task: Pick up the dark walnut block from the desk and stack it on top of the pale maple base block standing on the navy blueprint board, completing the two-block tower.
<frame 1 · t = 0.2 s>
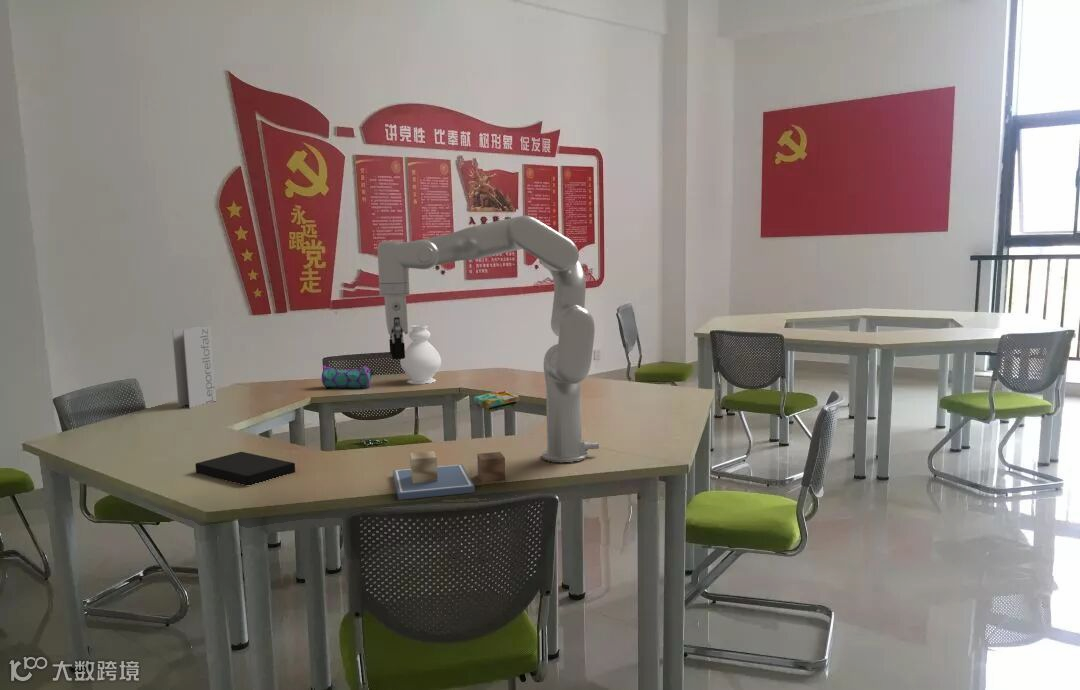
hand: (397, 356, 199), 31 cm above the table, fingers open, 9 cm apart
walnut block: (491, 478, 196), on the table
external hard drive: (245, 474, 206), on the table
blueprint board: (432, 483, 192), on the table
pencil case: (347, 388, 332), on the table
brochure: (197, 404, 302), on the table
decorative vase: (421, 382, 343), on the table
maple base block: (424, 478, 192), resting on blueprint board
puzzle game: (498, 407, 282), on the table
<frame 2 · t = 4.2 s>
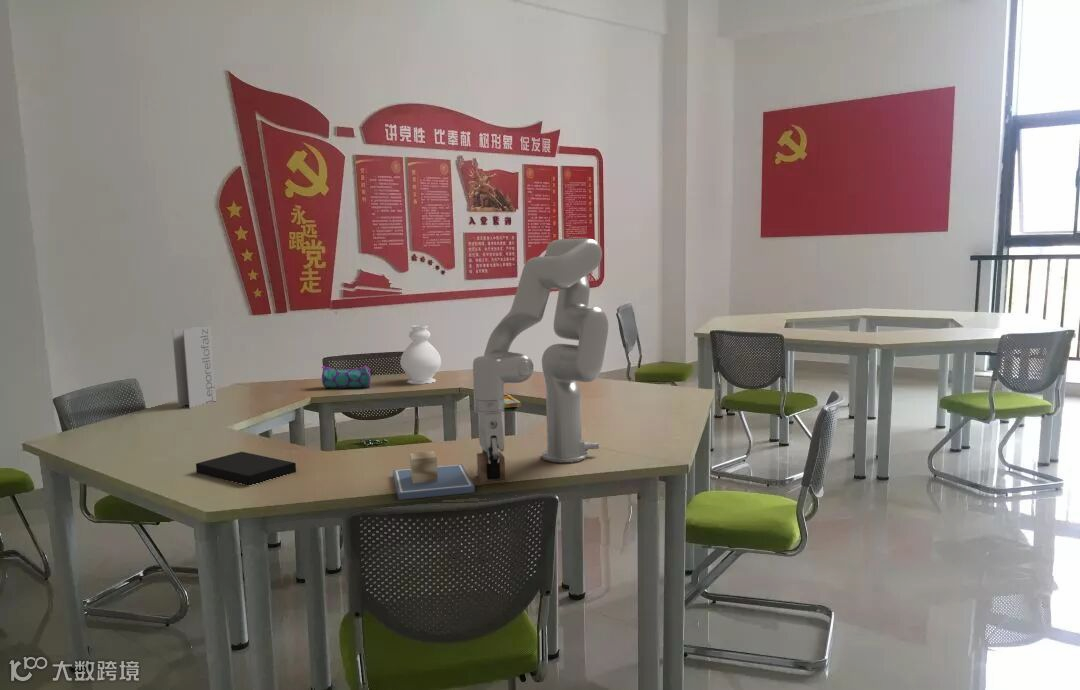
hand: (491, 474, 196), 1 cm above the table, fingers closed on walnut block, 6 cm apart
walnut block: (491, 478, 196), on the table, touching gripper
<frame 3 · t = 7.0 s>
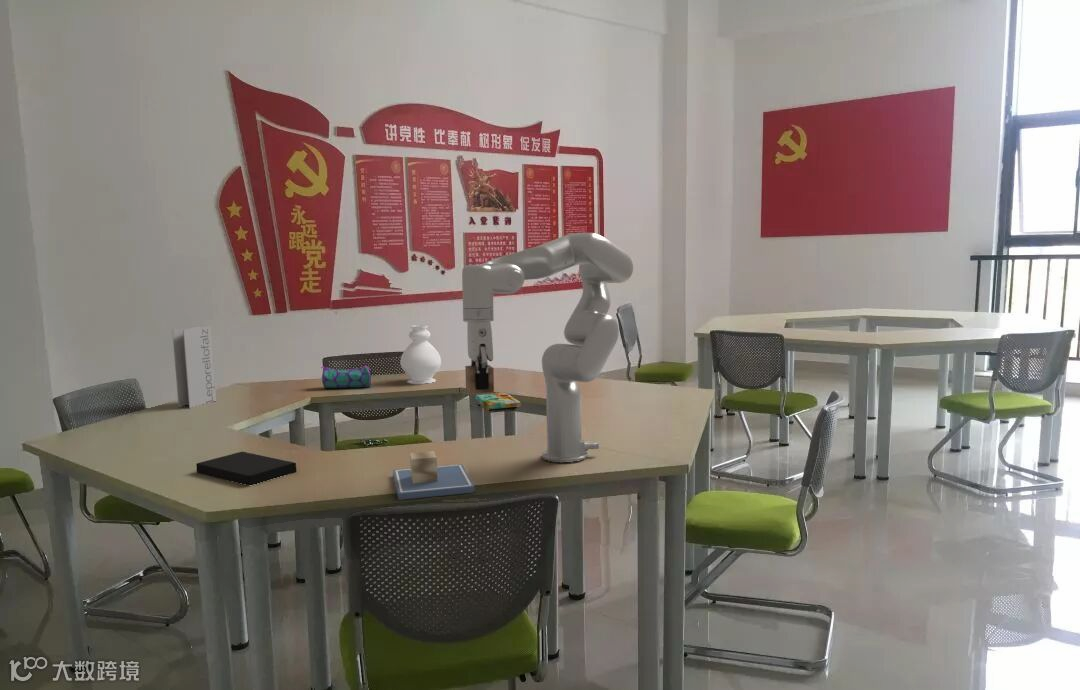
hand: (479, 386, 192), 24 cm above the table, fingers closed on walnut block, 6 cm apart
walnut block: (479, 390, 192), point 23 cm above the table, touching gripper
when the fingers open (10 cm above the table, at t = 9.8 s): walnut block drops 1 cm, resting on maple base block.
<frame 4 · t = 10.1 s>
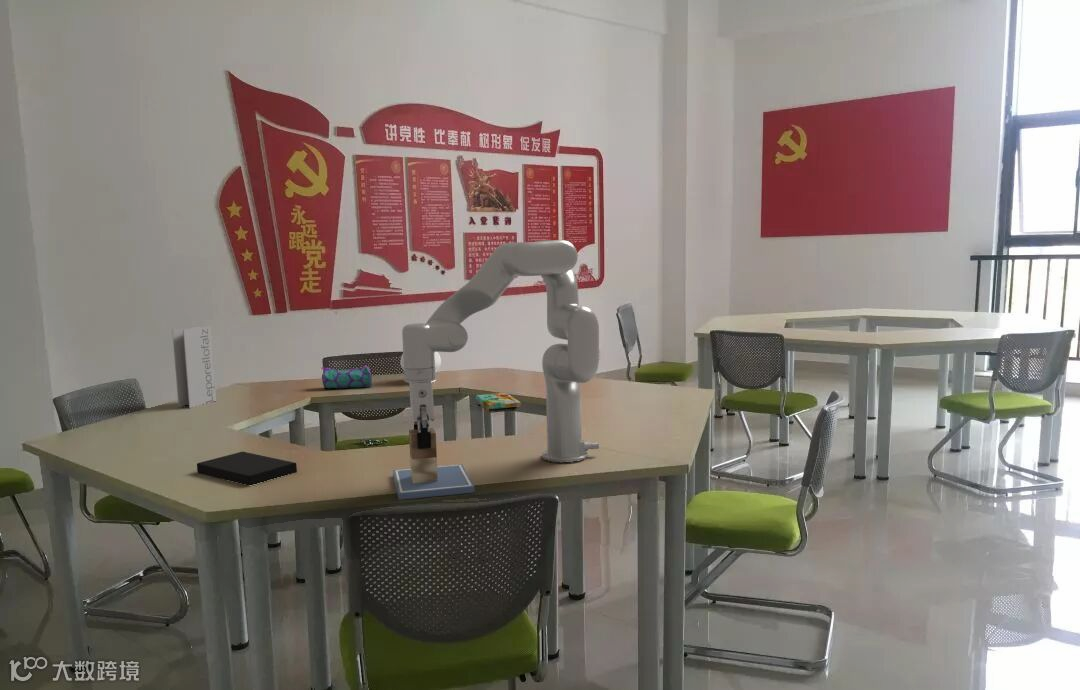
hand: (422, 443, 191), 10 cm above the table, fingers open, 8 cm apart
walnut block: (423, 455, 191), point 7 cm above the table, touching maple base block
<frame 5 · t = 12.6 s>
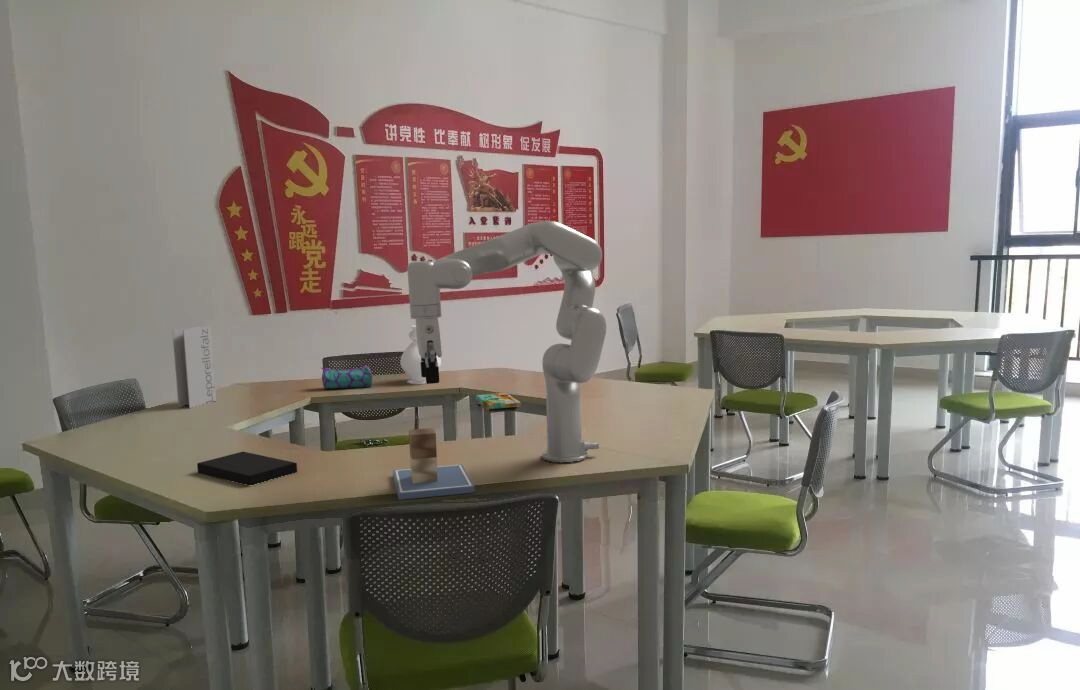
hand: (430, 379, 192), 26 cm above the table, fingers open, 9 cm apart
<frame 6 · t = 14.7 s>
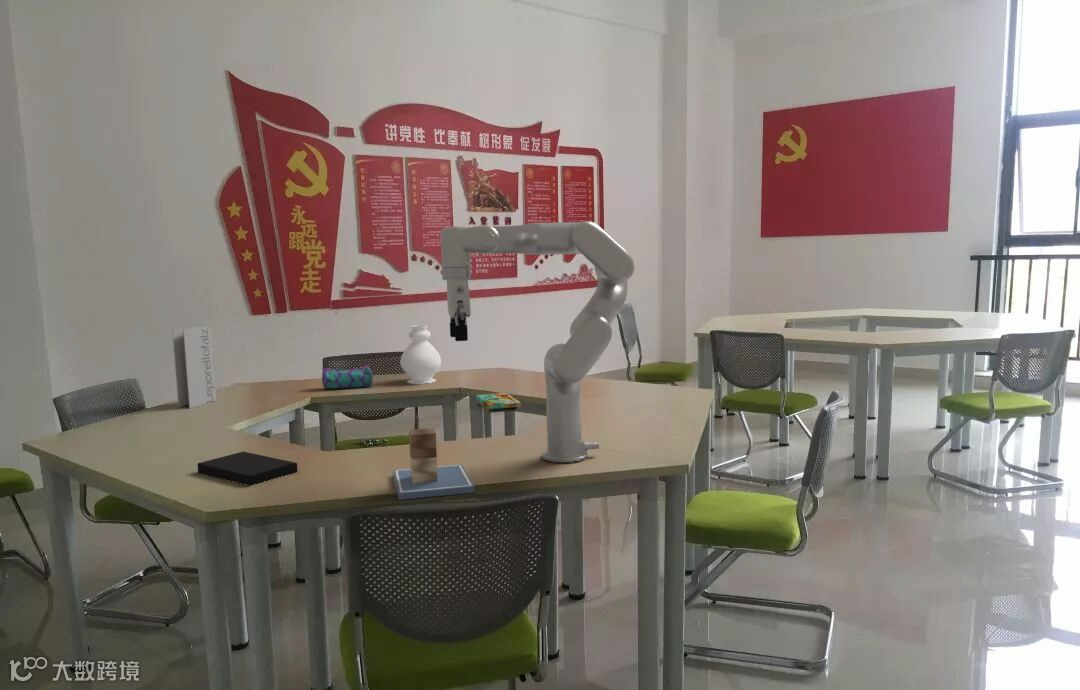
hand: (458, 338, 205), 34 cm above the table, fingers open, 9 cm apart
at the end: walnut block 0.1 cm off-centre on the maple base block, point 6.0 cm above the maple base block's base; walnut block tilted 0°; the gripper is holding nothing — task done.
